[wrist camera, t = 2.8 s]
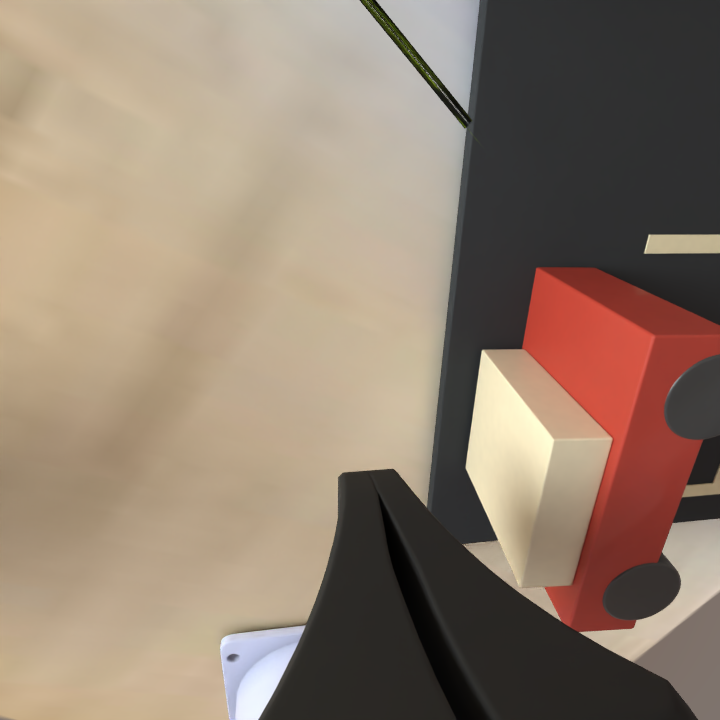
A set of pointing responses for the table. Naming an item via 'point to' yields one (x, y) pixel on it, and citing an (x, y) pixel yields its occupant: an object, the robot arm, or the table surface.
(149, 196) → the table surface
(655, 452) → the toy car
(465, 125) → the toy tank
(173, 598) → the table surface
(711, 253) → the mat
